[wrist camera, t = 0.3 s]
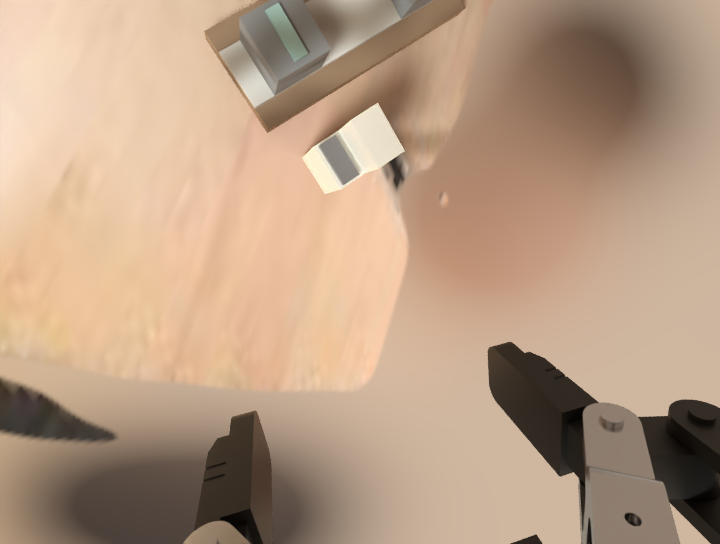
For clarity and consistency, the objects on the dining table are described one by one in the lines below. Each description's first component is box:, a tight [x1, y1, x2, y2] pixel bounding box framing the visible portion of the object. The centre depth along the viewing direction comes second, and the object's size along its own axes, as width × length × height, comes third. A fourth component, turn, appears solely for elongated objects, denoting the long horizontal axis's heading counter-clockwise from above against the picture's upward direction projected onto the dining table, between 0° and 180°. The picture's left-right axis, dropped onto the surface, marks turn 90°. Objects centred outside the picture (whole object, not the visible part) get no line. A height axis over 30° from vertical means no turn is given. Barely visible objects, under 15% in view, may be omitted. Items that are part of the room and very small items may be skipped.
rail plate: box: [205, 0, 465, 133], centre depth 34 cm, size 9×23×6 cm, turn 123°
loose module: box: [302, 103, 404, 194], centre depth 34 cm, size 4×5×10 cm
